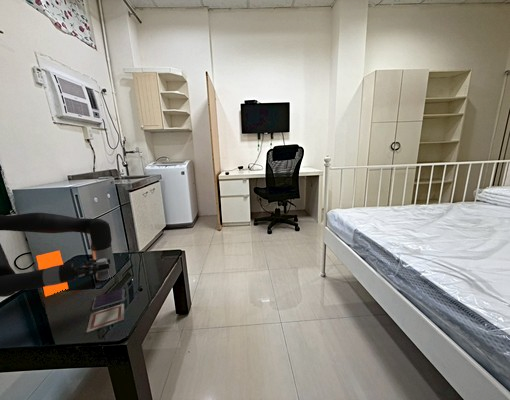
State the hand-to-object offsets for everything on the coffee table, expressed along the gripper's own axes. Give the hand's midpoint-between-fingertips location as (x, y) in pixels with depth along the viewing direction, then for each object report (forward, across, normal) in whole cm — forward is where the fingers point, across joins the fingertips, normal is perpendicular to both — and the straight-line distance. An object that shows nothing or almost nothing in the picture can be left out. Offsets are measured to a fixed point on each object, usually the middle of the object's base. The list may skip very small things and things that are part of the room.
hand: (109, 263), depth 98 cm
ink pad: (-2, +1, +18) cm, 18 cm away
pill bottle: (-3, 0, +6) cm, 7 cm away
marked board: (-2, -13, +18) cm, 22 cm away
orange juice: (-27, +27, +18) cm, 42 cm away
